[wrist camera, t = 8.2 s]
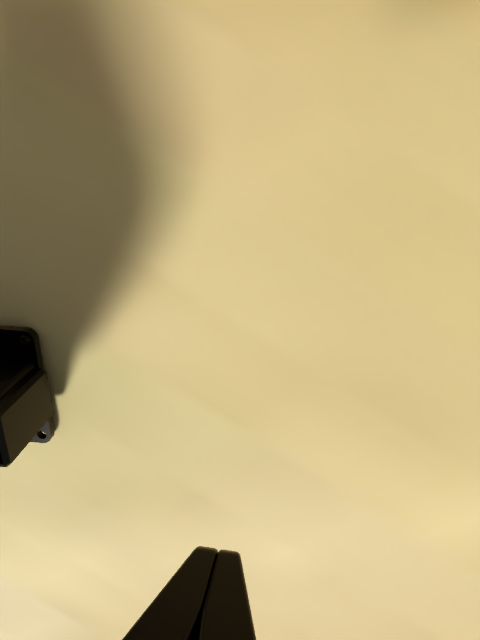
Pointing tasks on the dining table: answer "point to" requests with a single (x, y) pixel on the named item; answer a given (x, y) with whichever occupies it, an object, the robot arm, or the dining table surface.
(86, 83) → the dining table surface
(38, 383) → the robot arm
